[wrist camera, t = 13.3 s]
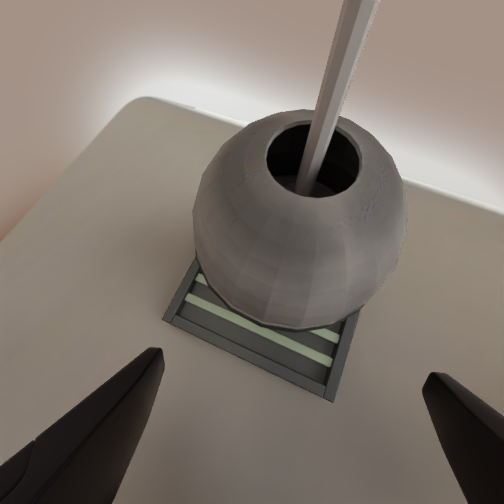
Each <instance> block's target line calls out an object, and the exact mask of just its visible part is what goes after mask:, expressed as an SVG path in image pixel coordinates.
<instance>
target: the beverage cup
mask: <svg viewBox="0 0 504 504" xmlns="http://www.w3.org/2000/svg"><path fill="white" fill-rule="evenodd" d="M380 1H381V0H344V1H343V5H342V9H341V13H340V16H339V20H338V24H337V28H336V32H335V36H334V39H333V43H332V47H331V51H330V55H329V58H328V62H327V66H326V70H325V74H324V77H323V81H322V85H321V89H320V93H319V96H318V101H317V104H316V108H315V110H305V109H302V110H295V111H286V112H280V113H276V114H273V115H270V116H267V117H265V118H263V119H260V120H257V121H255V122H252V123H250V124H249V125H247V126H246V127H245V128H244V129H242V130H241V131H240V132H238V133H237V134H236V135H234V136H233V137H232V138H231V139H229V140H228V141H227V142H226V143H224V144H223V145H222V147H221V148H220V150H219V151H218V152H217V154H216V155H215V157H214V158H213V160H212V161H211V163H210V164H209V165H208V167H207V168H206V170H205V172H204V173H203V175H202V178H201V182H200V186H199V189H198V193H197V196H196V200H195V204H194V207H193V225H194V238H195V249H196V260H197V262H198V265H199V267H200V269H201V271H202V274H203V276H204V278H205V280H206V283H207V285H208V287H209V288H210V289H211V290H212V292H213V293H214V294H215V295H216V296H217V297H218V298H219V299H220V300H221V301H222V302H223V303H224V304H225V305H226V307H227V308H228V309H229V310H230V311H232V312H233V313H235V314H237V315H239V316H241V317H243V318H245V319H246V320H248V321H250V322H252V323H254V324H256V325H258V326H260V327H263V328H268V329H274V330H280V331H286V332H292V333H299V332H306V331H312V330H318V329H324V328H330V327H332V326H333V325H335V324H337V323H339V322H341V321H342V320H344V319H346V318H348V317H350V316H352V315H353V314H355V313H357V312H359V310H360V309H361V308H362V307H363V306H364V305H365V303H367V301H368V300H369V299H370V298H371V297H372V296H373V294H374V293H375V292H376V291H377V290H378V289H379V287H380V286H381V285H382V284H383V283H384V282H385V280H386V279H387V278H388V277H389V276H390V274H391V273H392V272H393V271H394V269H395V266H396V263H397V261H398V258H399V255H400V252H401V249H402V246H403V243H404V240H405V237H406V234H407V229H408V218H407V199H406V190H405V187H404V184H403V182H402V179H401V177H400V175H399V172H398V170H397V168H396V165H395V163H394V161H393V158H392V157H391V155H390V154H389V153H388V152H387V151H386V150H385V149H384V147H383V146H382V145H381V144H380V143H379V142H378V141H377V139H376V138H375V137H374V136H373V135H372V134H370V133H369V132H368V131H366V130H365V129H363V128H362V127H360V126H359V125H357V124H355V123H354V122H352V121H351V120H349V119H346V118H343V117H341V116H339V115H340V112H341V109H342V106H343V104H344V101H345V98H346V95H347V92H348V90H349V87H350V84H351V81H352V78H353V76H354V73H355V70H356V68H357V65H358V62H359V59H360V56H361V54H362V51H363V48H364V45H365V42H366V39H367V37H368V34H369V31H370V29H371V26H372V23H373V20H374V17H375V15H376V12H377V9H378V6H379V3H380Z"/></svg>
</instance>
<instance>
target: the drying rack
mask: <svg viewBox="0 0 504 504" xmlns="http://www.w3.org/2000/svg"><path fill="white" fill-rule="evenodd" d="M359 313H360V310H359V312H357V313H355V314H353V315H352V316H350V317H348V318H346V319H344V320H342V321H341V322H339V323H337V324H335V325H333V326H332V327H330V328H324V329H318V330H312V331H306V332H299V333H292V332H286V331H280V330H274V329H268V328H263V327H260V326H258V325H256V324H254V323H252V322H250V321H248V320H246V319H245V318H243V317H241V316H239V315H237V314H235V313H233V312H232V311H230V310H229V309H228V308H227V307H226V305H225V304H224V303H223V302H222V301H221V300H220V299H219V298H218V297H217V296H216V295H215V294H214V293H213V292H212V290H211V289H210V288H209V287H208V285H207V283H206V280H205V278H204V276H203V274H202V271H201V269H200V267H199V265H198V262H197V260H196V257H195V259H194V261H193V263H192V265H191V266H190V268H189V270H188V272H187V274H186V276H185V277H184V279H183V281H182V283H181V285H180V287H179V288H178V290H177V292H176V294H175V296H174V298H173V299H172V301H171V303H170V305H169V307H168V309H167V311H166V312H165V314H164V316H163V318H162V320H164V321H166V322H168V323H171V324H172V325H174V326H176V327H178V328H180V329H182V330H184V331H186V332H188V333H190V334H192V335H194V336H196V337H199V338H201V339H203V340H205V341H207V342H209V343H211V344H213V345H215V346H217V347H219V348H221V349H223V350H225V351H227V352H229V353H231V354H233V355H236V356H238V357H240V358H242V359H244V360H246V361H248V362H250V363H252V364H254V365H256V366H258V367H260V368H262V369H264V370H266V371H268V372H270V373H273V374H275V375H277V376H279V377H281V378H283V379H285V380H287V381H289V382H291V383H293V384H295V385H297V386H299V387H301V388H303V389H305V390H308V391H310V392H312V393H314V394H316V395H318V396H320V397H323V398H324V399H326V400H328V401H330V402H332V403H333V402H334V399H335V396H336V392H337V389H338V385H339V382H340V379H341V375H342V372H343V368H344V365H345V361H346V358H347V354H348V351H349V347H350V344H351V340H352V337H353V333H354V330H355V327H356V323H357V320H358V316H359Z"/></svg>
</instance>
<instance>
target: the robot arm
mask: <svg viewBox="0 0 504 504" xmlns="http://www.w3.org/2000/svg"><path fill="white" fill-rule="evenodd" d="M164 368H165V363H164V357H163V351H162V349H161V348H156V347H150V348H148V349H146V350H145V351H144V352H143V353H141V354H140V355H139V356H138V357H136V358H135V359H134V360H133V361H131V362H130V363H129V364H128V365H126V366H125V367H124V368H123V369H121V370H120V371H119V372H118V373H116V374H115V375H114V376H113V377H111V378H110V379H109V380H108V381H106V382H105V383H104V384H103V385H101V386H100V387H99V388H98V389H96V390H95V391H94V392H93V393H91V394H90V395H89V396H88V397H86V398H85V399H84V400H83V401H81V402H80V403H79V404H78V405H76V406H75V407H74V408H73V409H71V410H70V411H69V412H68V413H66V414H65V415H64V416H63V417H61V418H60V419H59V420H58V421H56V422H55V423H54V424H53V425H51V426H50V427H49V428H48V429H46V430H45V431H44V432H43V433H41V434H40V435H39V436H38V437H36V439H35V441H34V440H33V441H31V442H30V443H29V444H27V445H26V446H25V447H24V448H22V449H21V450H20V451H19V452H17V453H16V454H15V455H14V456H12V457H11V458H10V459H9V460H7V461H6V462H5V463H3V464H2V465H1V466H0V504H112V503H113V501H114V498H115V496H116V494H117V491H118V489H119V487H120V484H121V482H122V480H123V477H124V475H125V473H126V470H127V468H128V466H129V463H130V461H131V459H132V456H133V454H134V452H135V449H136V447H137V445H138V442H139V440H140V438H141V435H142V433H143V431H144V429H145V426H146V424H147V421H148V419H149V416H150V413H151V410H152V407H153V404H154V401H155V397H156V394H157V391H158V388H159V385H160V382H161V379H162V376H163V372H164ZM422 394H423V398H424V400H425V403H426V406H427V409H428V411H429V414H430V417H431V419H432V422H433V425H434V428H435V430H436V433H437V436H438V438H439V441H440V443H441V446H442V448H443V451H444V453H445V455H446V458H447V460H448V462H449V464H450V466H451V468H452V470H453V472H454V475H455V477H456V479H457V481H458V483H459V485H460V487H461V490H462V492H463V494H464V496H465V498H466V500H467V502H468V504H504V416H502V415H501V414H500V413H498V412H497V411H496V410H494V409H493V408H492V407H490V406H489V405H488V404H486V403H485V402H484V401H482V400H481V399H480V398H478V397H477V396H476V395H474V394H473V393H472V392H470V391H469V390H468V389H466V388H465V387H464V386H462V385H461V384H460V383H458V382H457V381H456V380H454V379H453V378H452V377H450V376H449V375H448V374H446V373H440V372H431V373H430V374H429V376H428V378H427V380H426V382H425V384H424V386H423V388H422Z"/></svg>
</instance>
